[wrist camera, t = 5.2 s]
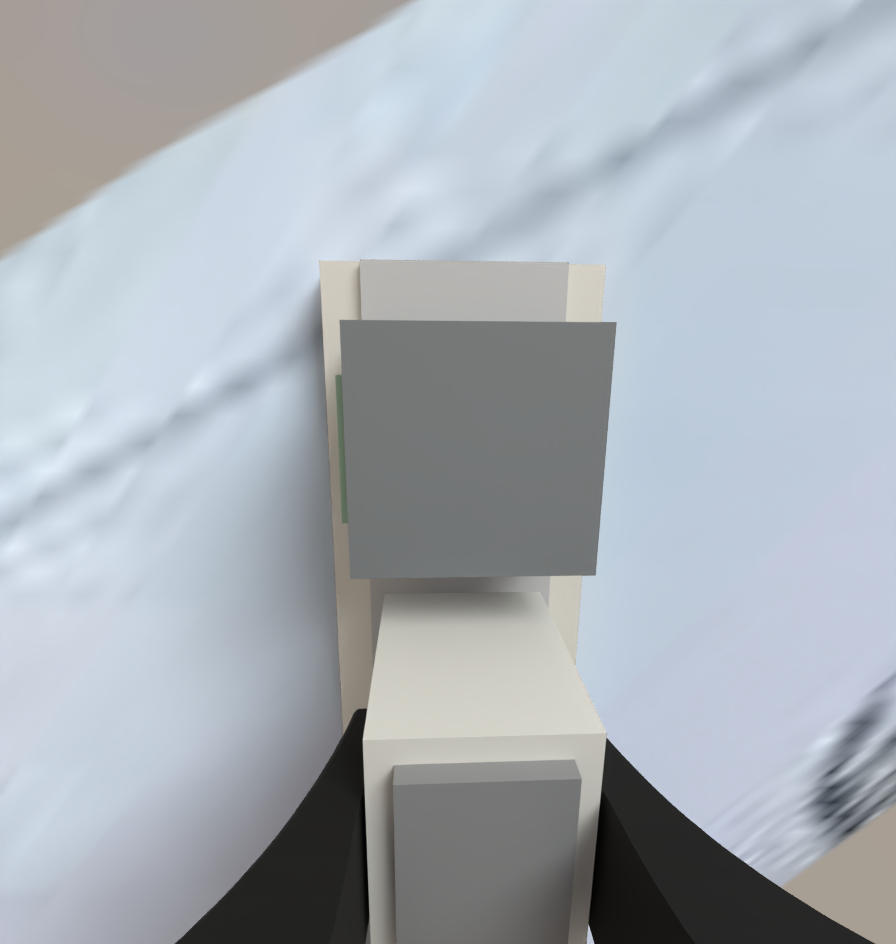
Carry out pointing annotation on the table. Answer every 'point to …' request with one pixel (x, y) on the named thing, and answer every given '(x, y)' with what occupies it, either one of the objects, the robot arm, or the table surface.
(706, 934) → the robot arm
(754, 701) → the table surface
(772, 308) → the table surface
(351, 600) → the board
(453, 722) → the module block
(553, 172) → the table surface
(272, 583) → the table surface
